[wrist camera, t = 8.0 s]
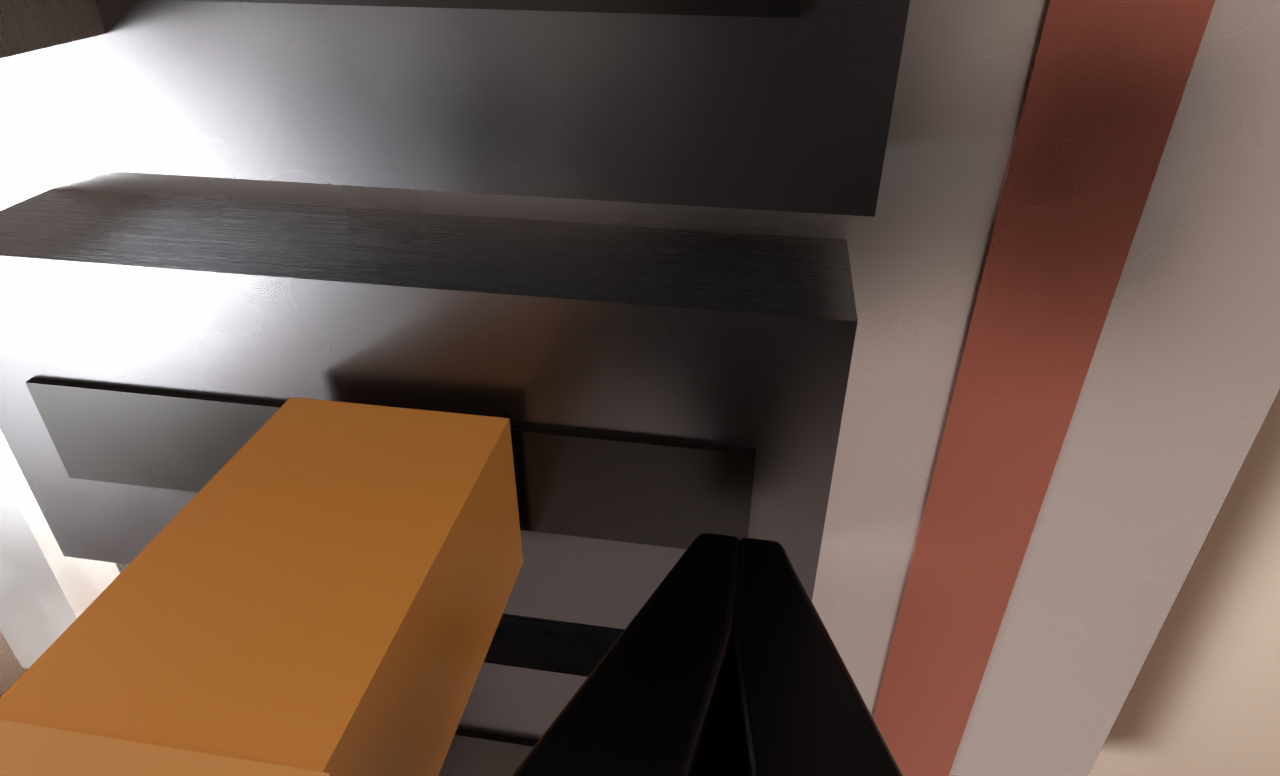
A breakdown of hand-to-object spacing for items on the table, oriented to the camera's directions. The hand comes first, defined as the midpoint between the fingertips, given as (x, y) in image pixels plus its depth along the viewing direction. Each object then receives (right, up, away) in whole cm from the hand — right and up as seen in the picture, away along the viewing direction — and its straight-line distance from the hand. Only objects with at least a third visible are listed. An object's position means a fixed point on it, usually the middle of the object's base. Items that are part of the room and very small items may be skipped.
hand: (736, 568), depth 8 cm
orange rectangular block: (-3, +1, +1) cm, 4 cm away
